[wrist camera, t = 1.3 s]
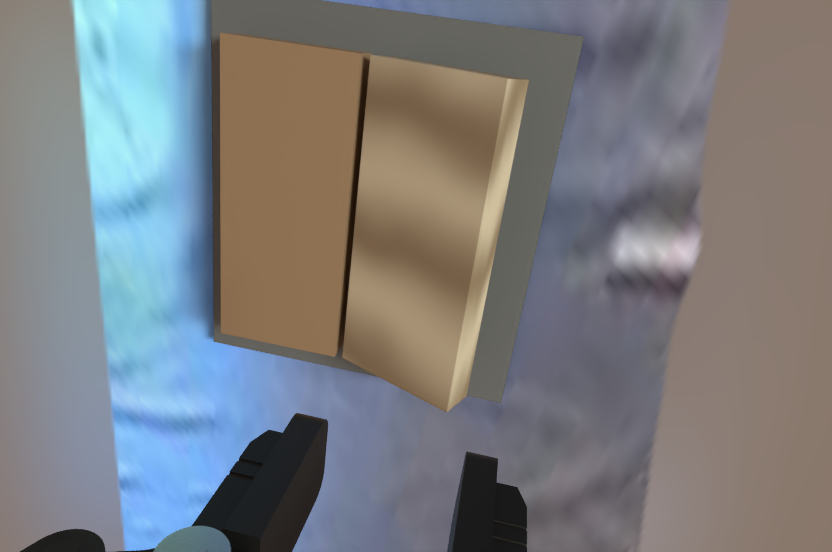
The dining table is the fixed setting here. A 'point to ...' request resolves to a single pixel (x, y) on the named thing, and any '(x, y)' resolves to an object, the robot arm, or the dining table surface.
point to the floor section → (352, 165)
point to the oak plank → (428, 221)
